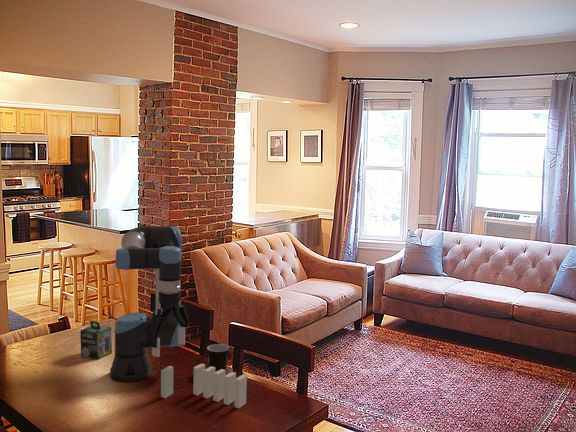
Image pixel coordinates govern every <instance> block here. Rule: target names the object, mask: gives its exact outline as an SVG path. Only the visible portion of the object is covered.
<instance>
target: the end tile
mask: <svg viewBox="0 0 576 432" xmlns="http://www.w3.org/2000/svg"><path fill="white" fill-rule="evenodd" d="M173 394H174V366H172V365H169V366H166V367H164V368H162V369H161V370H160V398H162V399H166V398H168V397H170V396H171V395H173Z"/></svg>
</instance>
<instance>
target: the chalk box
mask: <svg viewBox="0 0 576 432" xmlns="http://www.w3.org/2000/svg"><path fill="white" fill-rule="evenodd" d="M89 323H90V326H88V327H87V326H86V327H85V328H83V329H81V330H80V356H81V357H84V358H88V359H93V360H97V361H98V360H100V359H101V358H103V357H105V356H107V355H109V354H111V353H113V344H112V343H113V342H112V339H113V337H112V327H111V326H109V325H108V326H107V325H101V324H100V322H99V321H93V320H90V321H89Z"/></svg>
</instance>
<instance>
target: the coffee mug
mask: <svg viewBox="0 0 576 432" xmlns="http://www.w3.org/2000/svg"><path fill="white" fill-rule="evenodd" d="M206 349H207V359H208V360H207V361H208V368H209V367H211V366H212V367H215V372H217V371H219V370H221V369H223V370H226V371H227V366H228V357H229V352H230V347H229V346H228V345H227V344H223V343H215V344H210V345H208V346H207V348H206Z"/></svg>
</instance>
